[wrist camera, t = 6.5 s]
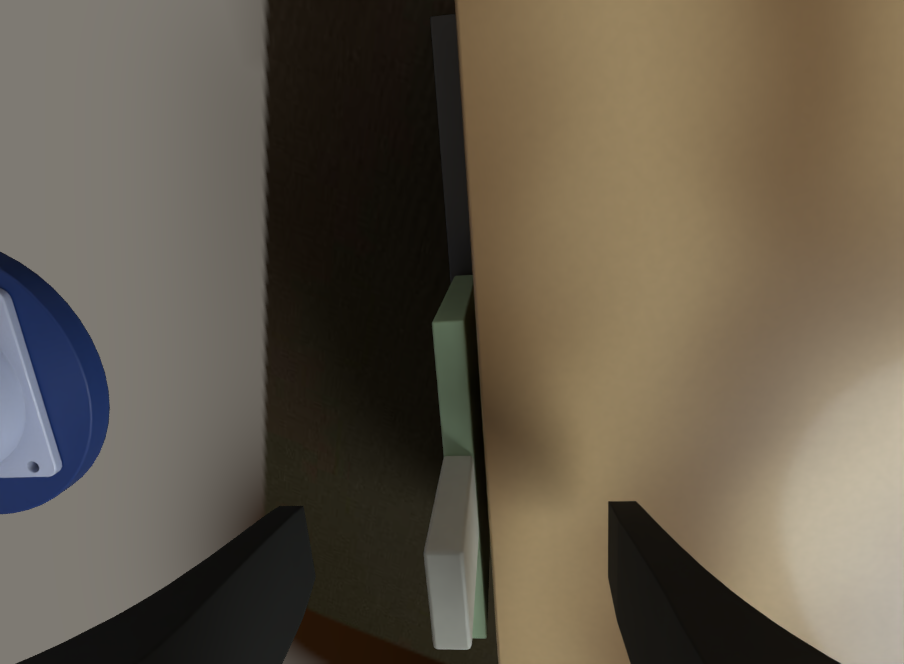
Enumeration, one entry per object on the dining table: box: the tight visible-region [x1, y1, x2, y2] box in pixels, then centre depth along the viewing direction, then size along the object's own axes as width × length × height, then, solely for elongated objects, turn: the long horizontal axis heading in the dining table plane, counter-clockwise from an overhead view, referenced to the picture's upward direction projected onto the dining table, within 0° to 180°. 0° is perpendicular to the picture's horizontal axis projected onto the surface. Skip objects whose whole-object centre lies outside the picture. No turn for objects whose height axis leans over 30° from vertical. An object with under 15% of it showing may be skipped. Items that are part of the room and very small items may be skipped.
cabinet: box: [430, 0, 904, 664], centre depth 16 cm, size 13×20×8 cm, turn 4°
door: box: [424, 275, 490, 650], centre depth 15 cm, size 1×10×10 cm, turn 5°
